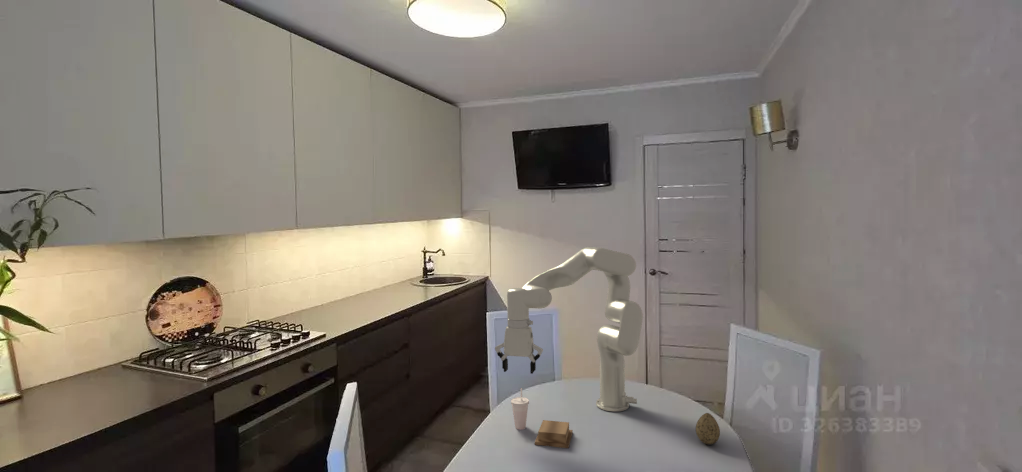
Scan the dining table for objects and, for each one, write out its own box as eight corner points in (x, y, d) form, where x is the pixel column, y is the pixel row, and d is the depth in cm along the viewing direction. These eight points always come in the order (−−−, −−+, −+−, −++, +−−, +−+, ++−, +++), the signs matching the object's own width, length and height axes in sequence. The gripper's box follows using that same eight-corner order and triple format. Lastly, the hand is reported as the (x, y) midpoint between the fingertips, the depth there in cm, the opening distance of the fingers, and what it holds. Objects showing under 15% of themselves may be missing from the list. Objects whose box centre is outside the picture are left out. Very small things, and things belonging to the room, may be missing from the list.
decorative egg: (716, 439, 152) (716, 409, 152) (722, 449, 145) (722, 418, 145) (693, 437, 153) (693, 408, 153) (698, 448, 146) (698, 417, 146)
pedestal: (572, 432, 159) (572, 421, 158) (568, 448, 148) (568, 436, 148) (541, 429, 161) (540, 418, 161) (534, 444, 151) (534, 432, 150)
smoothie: (527, 432, 160) (527, 392, 159) (509, 430, 161) (509, 391, 161) (530, 424, 166) (530, 385, 166) (513, 422, 167) (512, 384, 167)
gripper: (544, 322, 164) (545, 369, 164) (497, 320, 168) (498, 366, 169) (540, 326, 157) (541, 376, 157) (491, 324, 161) (492, 373, 161)
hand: (519, 371), depth 163 cm, fingers open, 9 cm apart
